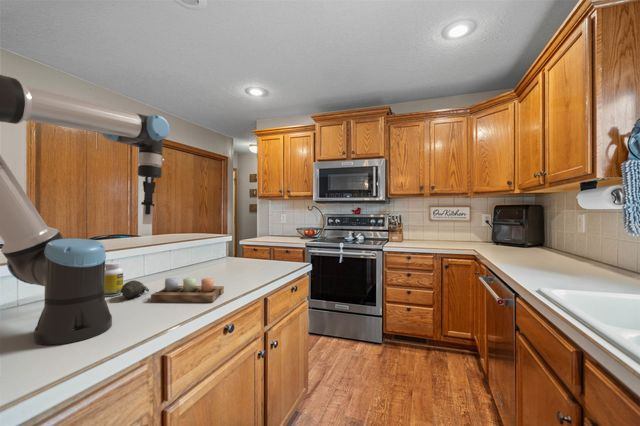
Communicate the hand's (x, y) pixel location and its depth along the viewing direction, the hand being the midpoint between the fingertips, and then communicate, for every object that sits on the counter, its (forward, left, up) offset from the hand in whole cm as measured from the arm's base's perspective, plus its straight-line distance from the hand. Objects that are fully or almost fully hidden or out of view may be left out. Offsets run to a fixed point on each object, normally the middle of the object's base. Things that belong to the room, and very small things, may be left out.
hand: (147, 223), depth 104 cm
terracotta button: (-2, -23, -24) cm, 33 cm away
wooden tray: (-2, -16, -26) cm, 31 cm away
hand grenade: (-1, +3, -27) cm, 27 cm away
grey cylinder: (-2, -10, -24) cm, 26 cm away
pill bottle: (0, +13, -27) cm, 29 cm away
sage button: (-2, -16, -24) cm, 29 cm away
